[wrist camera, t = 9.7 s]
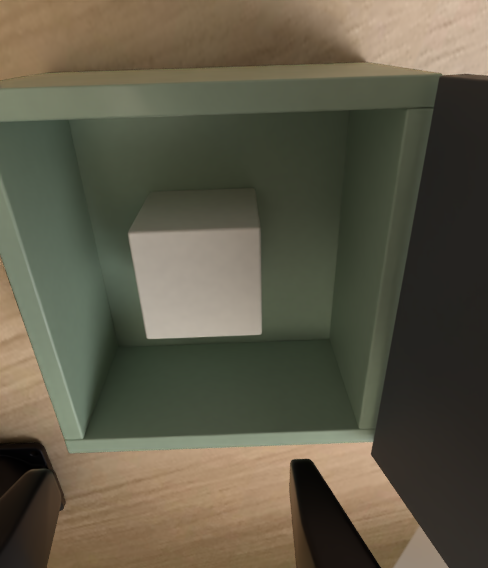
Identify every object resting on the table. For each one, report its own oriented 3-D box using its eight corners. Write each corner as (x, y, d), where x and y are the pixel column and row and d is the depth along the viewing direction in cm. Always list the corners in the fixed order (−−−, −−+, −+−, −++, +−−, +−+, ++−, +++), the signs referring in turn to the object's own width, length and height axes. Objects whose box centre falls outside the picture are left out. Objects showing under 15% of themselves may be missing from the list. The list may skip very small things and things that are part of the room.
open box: (110, 349, 23) (68, 454, 17) (45, 72, 16) (-60, 89, 11) (339, 340, 23) (375, 442, 17) (368, 62, 17) (444, 73, 11)
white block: (162, 282, 20) (145, 340, 16) (149, 191, 18) (126, 232, 14) (256, 279, 20) (262, 335, 16) (255, 187, 18) (260, 227, 14)
